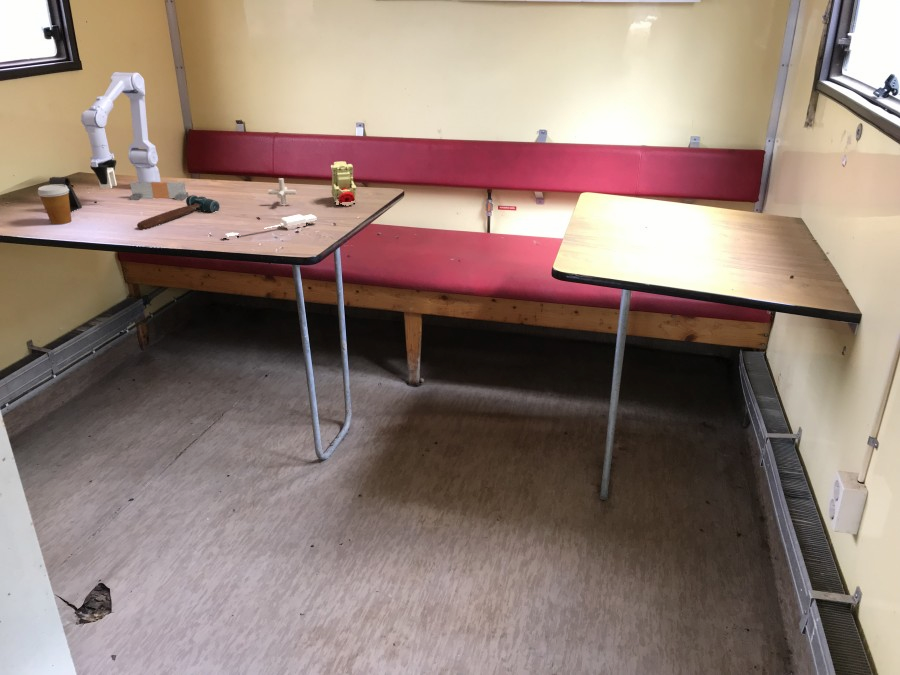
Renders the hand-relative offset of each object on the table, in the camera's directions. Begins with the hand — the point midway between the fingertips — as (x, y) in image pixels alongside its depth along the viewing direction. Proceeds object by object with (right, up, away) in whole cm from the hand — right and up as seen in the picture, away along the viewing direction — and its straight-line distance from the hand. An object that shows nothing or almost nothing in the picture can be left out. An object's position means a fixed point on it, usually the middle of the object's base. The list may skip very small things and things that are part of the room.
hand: (107, 182), depth 253 cm
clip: (0, -1, +1) cm, 2 cm away
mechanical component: (+88, -7, +5) cm, 88 cm away
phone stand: (-12, -12, -5) cm, 18 cm away
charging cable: (+68, -22, -25) cm, 76 cm away
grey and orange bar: (+15, -4, +11) cm, 19 cm away
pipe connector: (+65, -8, +2) cm, 66 cm away
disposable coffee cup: (-7, -18, -18) cm, 26 cm away
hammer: (+31, -16, -13) cm, 37 cm away
